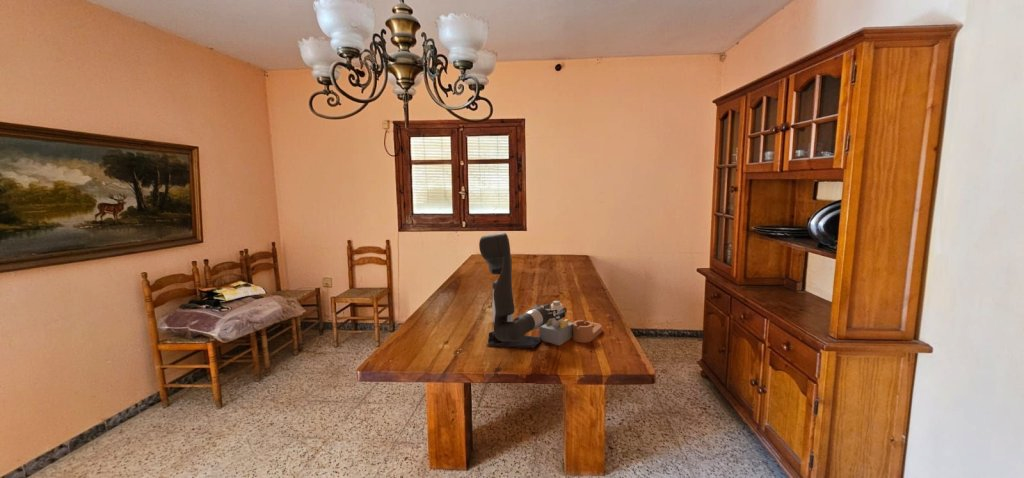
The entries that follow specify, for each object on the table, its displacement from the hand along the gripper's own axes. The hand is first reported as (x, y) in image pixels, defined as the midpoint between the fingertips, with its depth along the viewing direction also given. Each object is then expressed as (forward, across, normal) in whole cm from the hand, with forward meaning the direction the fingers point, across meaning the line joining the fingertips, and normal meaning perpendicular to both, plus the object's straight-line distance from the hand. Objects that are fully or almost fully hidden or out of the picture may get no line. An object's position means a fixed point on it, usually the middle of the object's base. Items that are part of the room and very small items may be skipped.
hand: (557, 307), depth 169 cm
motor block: (+1, 0, +14) cm, 14 cm away
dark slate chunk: (-14, +12, +14) cm, 24 cm away
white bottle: (0, 0, +8) cm, 8 cm away
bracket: (+11, -9, +14) cm, 20 cm away
